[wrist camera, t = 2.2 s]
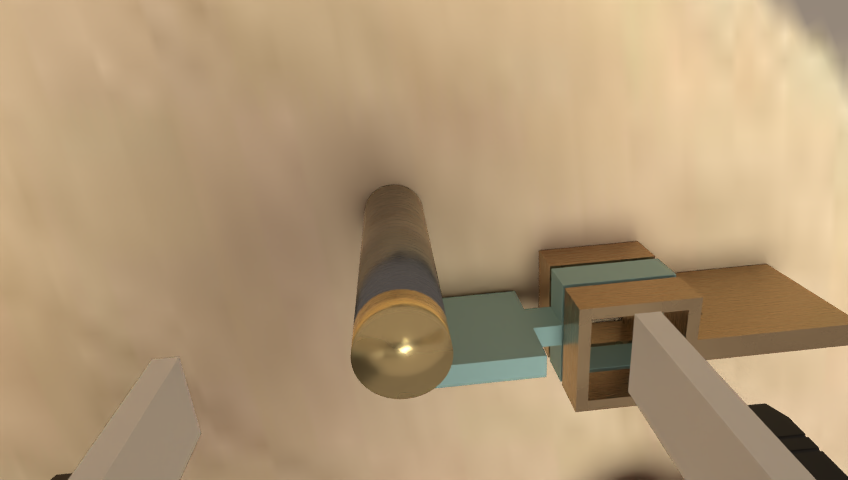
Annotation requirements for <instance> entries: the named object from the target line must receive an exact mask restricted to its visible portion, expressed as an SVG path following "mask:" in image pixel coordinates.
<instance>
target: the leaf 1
mask: <svg viewBox="0 0 848 480" xmlns="http://www.w3.org/2000/svg"><path fill="white" fill-rule="evenodd" d="M673 277H676V274H675V273H674V272H673V271H672V270H671V269H669V268H668V267H667V266H666V265H665V264H664V263H662V262H661V261H660V260H659V259H658V258H657V259H647V260H636V261H626V262H616V263H605V264H595V265H585V266H574V267H564V268H554V269H551V307H542V308H532V309H524V308H523V306H522V304H521V302H520V300H519V298H518V296H517V294H516V292H515V291H510V292H500V293H490V294H480V295H469V296H459V297H449V298H442V300H443V304H444V309H445V314H446V318H447V323H448V327H449V332H450V337H451V341H452V346H453V362H452V365H451V368H450V370H449V373H448V374H447V376H446V377H445V379H444V380H443V381H442V382H441V383H440V384H439V385H438V386H437V387H436V388H443V387H452V386H462V385H472V384H481V383H491V382H500V381H510V380H519V379H529V378H539V377H546V372H547V355H546V353H545V351H544V349H543V347H548V346H550V361H551V363H552V365H553V367H554V369H555V371H556V373H557V375H558V377H559V379H560V381H562V373H563V335H564V298H565V288H571V287H581V286H591V285H601V284H612V283H622V282H632V281H642V280H652V279H663V278H673ZM663 315H664V313H663ZM631 352H632V343H627V344H617V345H607V346H598V347H591V350H590V370H589V373H592V372H601V371H611V370H620V369H630V363H631Z"/></svg>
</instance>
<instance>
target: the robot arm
mask: <svg viewBox="0 0 848 480" xmlns="http://www.w3.org/2000/svg"><path fill="white" fill-rule="evenodd" d="M628 392H629V394H630V395H631V397H632V398H633V400H634V402H635V403H636V405H637V406H638V408H639V409H640V411H641V412H642V414H643V416H644V417H645V419H646V420H647V422H648V423H649V425H650V427H651V428H652V430H653V431H654V433H655V434H656V436H657V438H658V439H659V441H660V442H661V444H662V445H663V447H664V448H665V450H666V452H667V453H668V455H669V456H670V458H671V459H672V461H673V463H674V464H675V466H676V467H677V469H678V470H679V472H680V474H681V475H682V477H683V478H684V480H848V476H847V475H846V474H845V473H844V472H843V471H842V470H841V469H840V468H839V467H838V466H837V465H836V464H835V463H834V462H833V461H832V460H831V459H830V458H829V457H828V456H827V455H826V454H825V453H824V452H823V451H819V447H818V446H817V445H816V444H815V443H814V442H813V441H812V440H811V439H810V438H809V437H806V436H805V433H804V432H803V431H802V430H801V429H800V428H799V427H798V426H797V425H796V424H795V423H794V422H793V421H792V420H791V419H790V418H789V417H787V416H786V415H784V414H782V413H781V412H779V411H777V410H775V409H774V408H772V407H770V406H769V405H767V404H755V405H747V404H746V403H745V402H744V401H743V400H742V399H741V398H740V397H739V396H738V395H737V393H736V392H735V391H734V390H733V389H732V388H731V387H730V386H729V385H728V384H727V383H726V382H725V380H724V379H723V378H722V377H721V376H720V375H719V374H718V373H717V372H716V371H715V370H714V369H713V368H712V366H711V365H710V364H709V363H708V362H707V361H706V360H705V359H704V358H703V357H702V356H701V355H700V353H699V352H698V351H697V350H696V349H695V348H694V347H693V346H692V345H691V344H690V343H689V342H688V340H687V339H686V338H685V337H684V336H683V335H682V334H681V333H680V332H679V331H678V330H677V329H676V327H675V326H674V325H673V324H672V323H671V322H670V321H669V320H668V319H667V318H666V317H665V316H664V315H663V313H662V312H661V311H660V312H650V313H639V314H635V317H634V328H633V340H632V352H631V363H630V375H629V387H628ZM200 435H201V431H200V427H199V424H198V420H197V417H196V413H195V410H194V406H193V403H192V399H191V396H190V392H189V389H188V385H187V382H186V378H185V375H184V372H183V368H182V365H181V361H180V358H179V357H169V358H159V359H152V360H151V361H150V363H149V364H148V366H147V367H146V368H145V370H144V371H143V373H142V374H141V376H140V377H139V378H138V380H137V381H136V383H135V384H134V386H133V387H132V389H131V390H130V391H129V393H128V394H127V396H126V397H125V399H124V400H123V401H122V403H121V404H120V406H119V407H118V409H117V410H116V412H115V413H114V414H113V416H112V417H111V419H110V420H109V422H108V423H107V424H106V426H105V427H104V429H103V430H102V432H101V433H100V434H99V436H98V437H97V439H96V440H95V442H94V443H93V445H92V446H91V447H90V449H89V450H88V452H87V453H86V455H85V456H84V457H83V459H82V460H81V462H80V463H79V465H78V466H77V468H76V469H75V470H74V472H73V473H71V474H61V475H56V476H55V477H53V478H52V479H51V480H180V479H181V477H182V474H183V472H184V470H185V468H186V466H187V463H188V461H189V459H190V457H191V455H192V452H193V450H194V448H195V446H196V444H197V441H198V439H199V437H200Z"/></svg>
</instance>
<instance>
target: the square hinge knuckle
mask: <svg viewBox="0 0 848 480" xmlns="http://www.w3.org/2000/svg"><path fill="white" fill-rule="evenodd" d="M647 259H655V256H654V255H653V254H652V253H651V252H650V251H648V250H647V249H646V248H645V247H644V246H643V245H641V244H640V243H639V242H638V241H635V242H624V243H614V244H603V245H593V246H582V247H572V248H561V249H551V250H540V251H539V308H542V307H551V269H554V268H564V267H574V266H585V265H595V264H605V263H616V262H626V261H636V260H647ZM675 274H676V277H673V278H663V279H652V280H642V281H632V282H622V283H612V284H601V285H591V286H581V287H571V288H565V298H564V335H563V373H562V386H563V388H564V390H565V392H566V394H567V396H568V398H569V400H570V402H571V404H572V406H573V408H574V410H575V412H581V411H590V410H600V409H609V408H618V407H628V406H637V405H636V403H635V402H634V400H633V398H632V397H631V395H630V394H629V392H628V387H629V375H630V369H620V370H611V371H601V372H592V373H589V370H590V350H591V347H598V346H607V345H617V344H627V343H632V340H633V328H634V317H635V314H639V313H650V312H660V311H661V312H662V313H664V316H665V317H666V318H667V319H668V320H669V321H670V322H671V323H672V324H673V325H674V326H675V327H676V329H677V330H678V331H679V332H680V333H681V334H682V335H683V336H684V337H685V338H686V339H687V340H688V342H689V343H690V344H691V345H692V346H693V347H694V348H695V349H696V350H697V351H698V352H699V353H700V355H701V356H702V357H703V358H704V359H705V360H711V359H721V358H731V357H740V356H750V355H759V354H769V353H778V352H788V351H798V350H807V349H817V348H826V347H836V346H846V345H848V315H847V314H846V313H844V312H842V311H841V310H839V309H838V308H836V307H834V306H833V305H831V304H830V303H828V302H826V301H825V300H823V299H822V298H820V297H818V296H817V295H815V294H814V293H812V292H811V291H809V290H807V289H806V288H804V287H803V286H801V285H799V284H798V283H796V282H795V281H793V280H791V279H790V278H788V277H787V276H785V275H783V274H782V273H780V272H779V271H777V270H775V269H774V268H772V267H771V266H769V265H767V264H762V265H751V266H741V267H731V268H721V269H710V270H700V271H690V272H680V273H675ZM615 317H622V320H619V321H609V322H599V323H592V320H595V319H605V318H615ZM544 349H545V351H546V353H547V355H548V357H550V346H548V347H544Z"/></svg>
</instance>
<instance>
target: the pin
mask: <svg viewBox="0 0 848 480" xmlns="http://www.w3.org/2000/svg"><path fill="white" fill-rule="evenodd" d="M452 362H453V346H452V341H451V337H450V332H449V327H448V323H447V318H446V314H445V309H444V304H443V300H442V295H441V290H440V286H439V281H438V277H437V272H436V267H435V263H434V258H433V253H432V249H431V244H430V239H429V235H428V230H427V226H426V221H425V216H424V212H423V207H422V203H421V201H420V199H419V197H418V196H417V195H416V194H415V193H414V192H413V191H412V190H411V189H409V188H407V187H405V186H401V185H386V186H383V187H381V188H379V189H377V190H376V191H375V192H373V193H372V195H371V196H370V197H369V199H368V200H367V203H366V206H365V214H364V224H363V234H362V245H361V255H360V265H359V276H358V286H357V296H356V307H355V317H354V328H353V338H352V348H351V364H352V368H353V370H354V373H355V375H356V376H357V378H358V379H359V381H360V382H361V383H362V384H363V385H364V386H365V387H366V388H368V389H369V390H370V391H372V392H374V393H376V394H378V395H380V396H384V397H387V398H393V399H408V398H414V397H418V396H421V395H423V394H426V393H427V392H429V391H431V390H433V389H434V388H436V387H437V386H438V385H439V384H440V383H441V382H442V381H443V380H444V379H445V377H446V376H447V374H448V373H449V370H450V368H451V365H452Z"/></svg>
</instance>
